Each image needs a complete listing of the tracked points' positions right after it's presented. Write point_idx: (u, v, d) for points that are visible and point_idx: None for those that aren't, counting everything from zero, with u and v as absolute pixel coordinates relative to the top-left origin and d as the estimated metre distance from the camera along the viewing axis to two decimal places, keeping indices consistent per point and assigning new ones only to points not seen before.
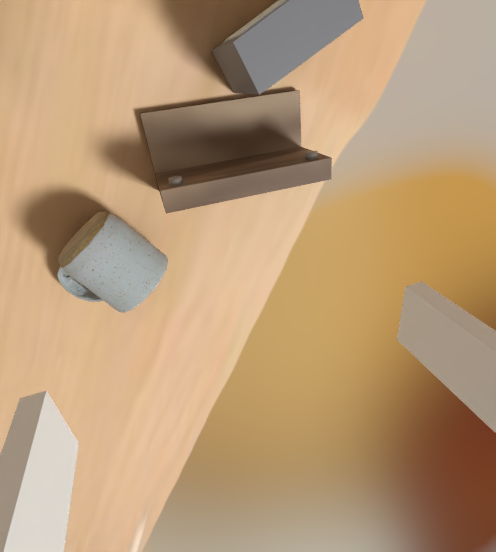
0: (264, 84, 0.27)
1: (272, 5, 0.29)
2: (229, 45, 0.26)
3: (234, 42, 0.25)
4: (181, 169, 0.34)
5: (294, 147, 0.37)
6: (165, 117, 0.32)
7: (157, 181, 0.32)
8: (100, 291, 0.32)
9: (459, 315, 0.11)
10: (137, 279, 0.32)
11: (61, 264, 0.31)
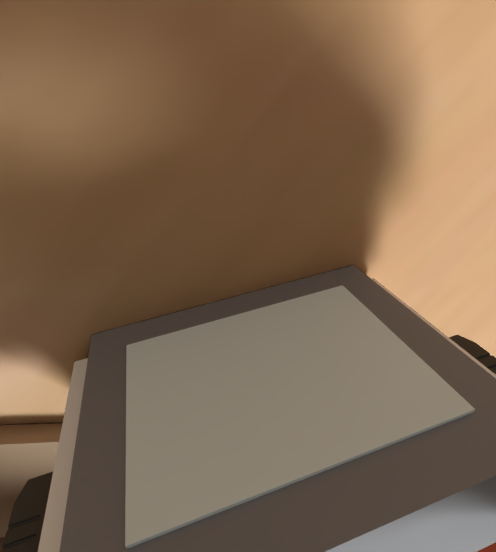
0: None
1: (282, 327, 0.11)
2: None
3: None
4: None
5: None
6: None
7: None
8: None
9: None
10: None
11: None
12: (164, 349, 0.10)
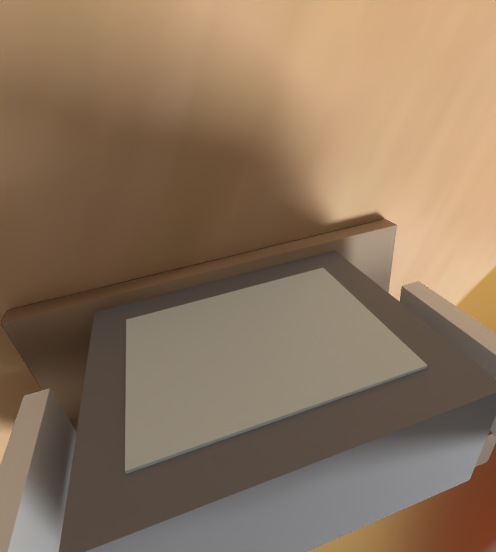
0: None
1: (266, 303, 0.12)
2: (69, 492, 0.07)
3: None
4: None
5: None
6: (73, 320, 0.13)
7: None
8: None
9: (455, 314, 0.11)
10: None
11: None
12: (160, 322, 0.12)
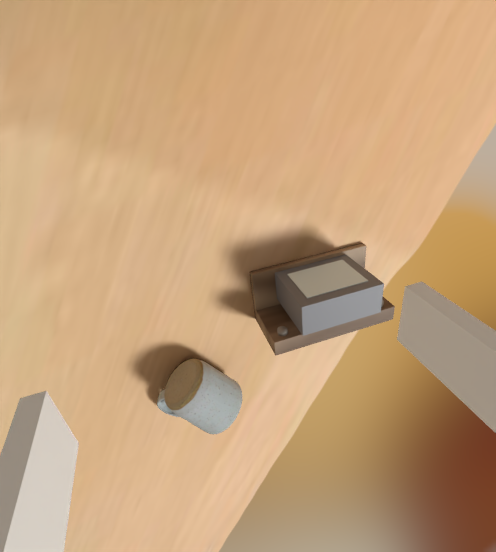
0: (308, 331, 0.38)
1: (327, 269, 0.42)
2: (296, 301, 0.37)
3: (302, 307, 0.36)
4: (275, 306, 0.45)
5: None
6: (268, 274, 0.43)
7: (262, 323, 0.43)
8: (196, 424, 0.43)
9: (459, 315, 0.11)
10: (224, 415, 0.43)
11: (170, 408, 0.42)
12: (298, 274, 0.42)
